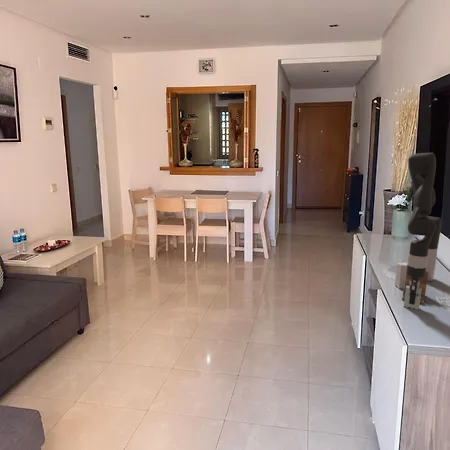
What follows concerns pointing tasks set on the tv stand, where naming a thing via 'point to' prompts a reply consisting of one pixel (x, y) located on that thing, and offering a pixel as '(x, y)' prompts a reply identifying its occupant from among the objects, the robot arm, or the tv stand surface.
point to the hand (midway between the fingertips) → (411, 302)
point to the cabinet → (422, 285)
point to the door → (417, 298)
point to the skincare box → (401, 275)
